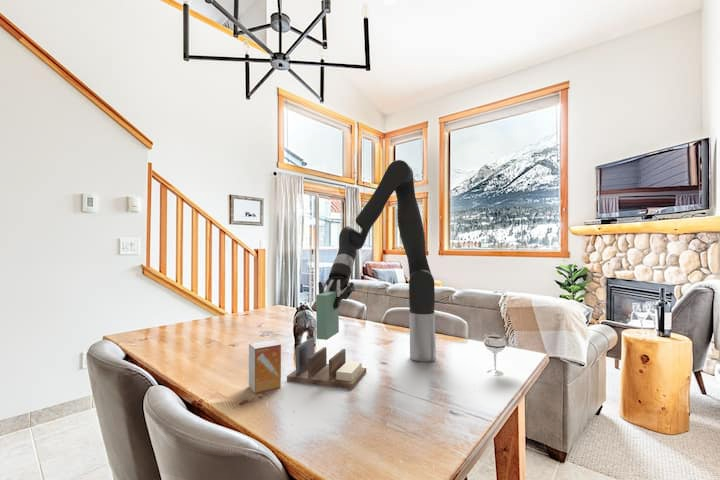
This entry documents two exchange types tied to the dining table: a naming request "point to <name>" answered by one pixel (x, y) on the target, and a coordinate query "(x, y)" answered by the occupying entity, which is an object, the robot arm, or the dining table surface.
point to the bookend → (304, 355)
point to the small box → (264, 366)
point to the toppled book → (349, 371)
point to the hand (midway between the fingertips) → (329, 307)
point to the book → (326, 315)
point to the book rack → (325, 371)
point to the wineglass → (495, 348)
